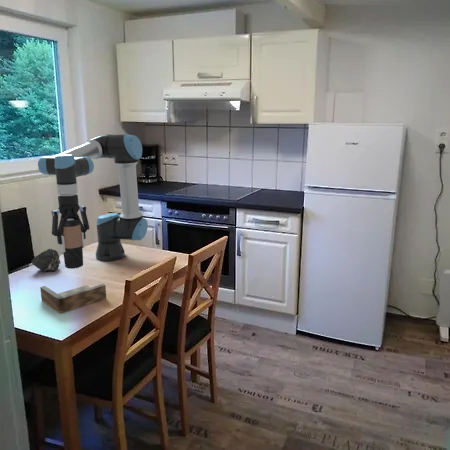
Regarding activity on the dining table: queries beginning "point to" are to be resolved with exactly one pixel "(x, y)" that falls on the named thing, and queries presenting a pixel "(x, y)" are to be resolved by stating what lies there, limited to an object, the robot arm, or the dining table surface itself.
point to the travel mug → (72, 243)
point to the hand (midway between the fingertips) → (72, 249)
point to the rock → (47, 260)
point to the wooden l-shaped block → (73, 297)
